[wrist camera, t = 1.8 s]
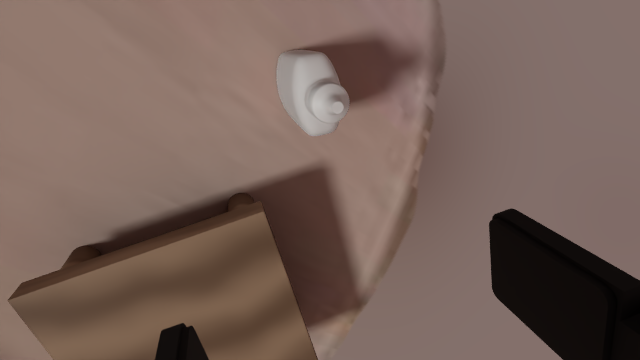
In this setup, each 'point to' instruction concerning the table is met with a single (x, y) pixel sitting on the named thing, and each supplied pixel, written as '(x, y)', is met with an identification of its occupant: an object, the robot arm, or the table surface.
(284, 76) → the eye dropper bottle
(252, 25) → the table surface
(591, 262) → the robot arm
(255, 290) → the walnut stool
